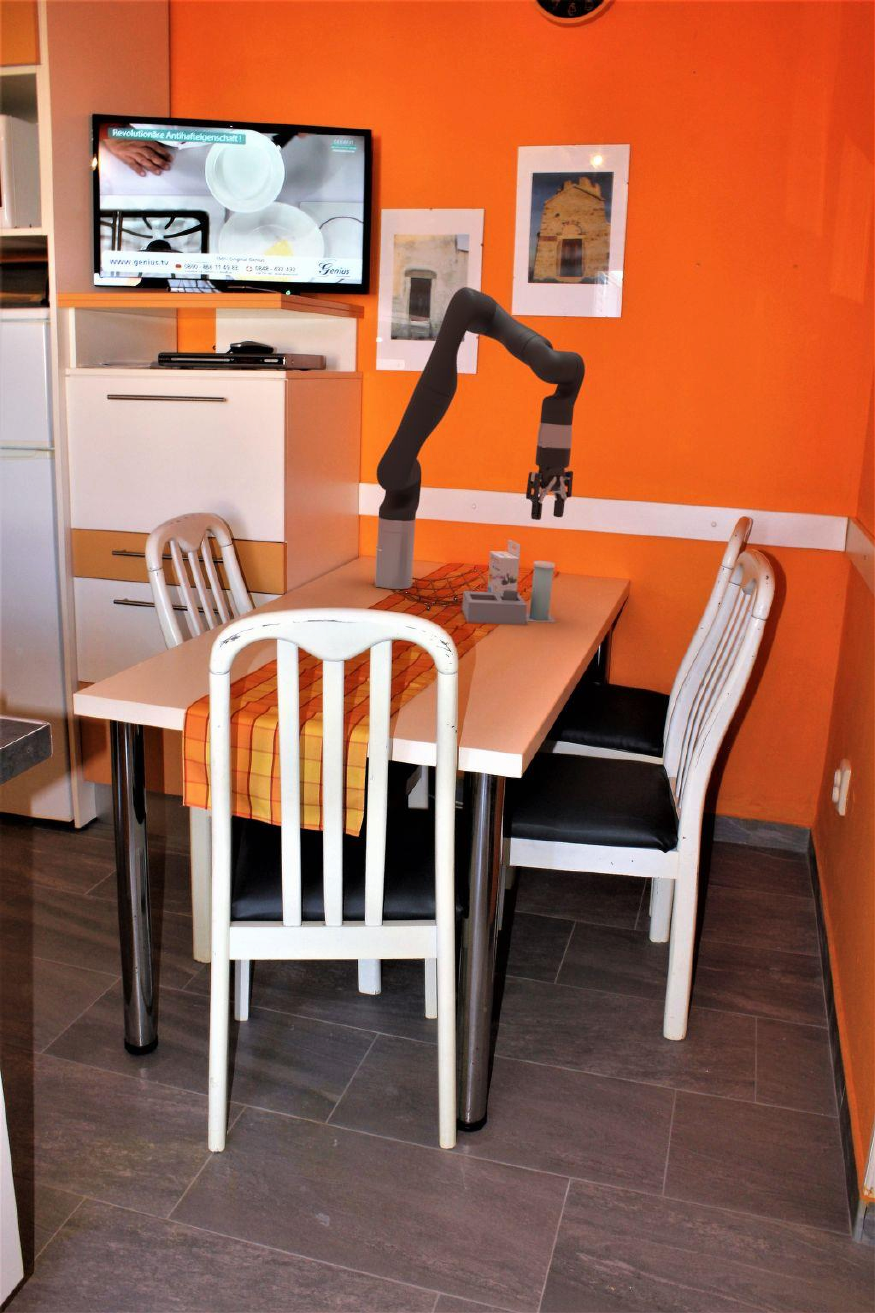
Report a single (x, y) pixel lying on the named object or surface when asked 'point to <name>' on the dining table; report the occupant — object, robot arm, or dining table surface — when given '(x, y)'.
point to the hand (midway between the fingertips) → (547, 518)
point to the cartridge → (541, 590)
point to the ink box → (504, 569)
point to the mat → (540, 620)
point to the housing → (493, 608)
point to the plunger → (510, 595)
